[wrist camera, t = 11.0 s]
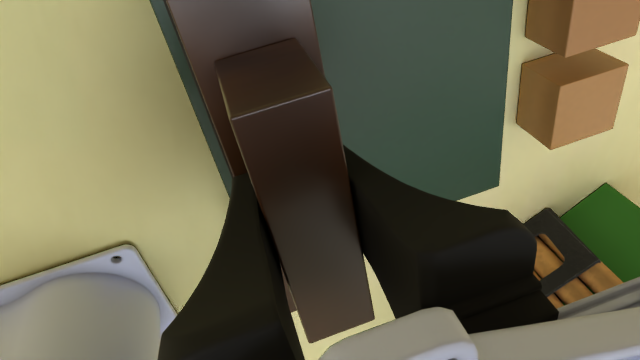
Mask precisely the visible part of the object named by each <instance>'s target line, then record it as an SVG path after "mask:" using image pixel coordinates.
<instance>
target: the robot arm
mask: <svg viewBox="0 0 640 360" xmlns="http://www.w3.org/2000/svg"><path fill="white" fill-rule="evenodd" d="M343 148H344V153H345V159H346V164H347V170H348V175H349V181H350V186H351V191H352V197H353V202H354V208H355V213H356V219H357V224H358V229H359V235H360V240H361V246H362V251H363V254H364V255H365V257H366V259H367V260H368V262H369V264H370V265H371V267H372V269H373V271H374V272H375V274H376V276H377V278H378V280H379V282H380V285H381V287H382V289H383V291H384V293H385V296H386V298H387V300H388V302H389V304H390V307H391V309H392V311H393V313H394V316H395V318H396V319H395V320H392V321H390V322H387V323H384V324H382V325H379V326H376V327H374V328H371V329H368V330H366V331H363V332H360V333H357V334H355V335H352V336H349V337H347V338H344V339H342V340H341V341H339V342H337V343H335V344H333V345H332V346H330V347H329V348H328V349H327V350H326V351H325V352H324V354H323V355H322V356H321V357H320V358H319V360H640V277H638V278H635V279H632V280H630V281H627V282H625V283H622V284H619V285H617V286H614V287H612V288H609V289H606V290H604V291H601V292H599V293H596V294H593V295H591V296H588V297H586V298H583V299H580V300H578V301H575V302H573V303H570V304H567V305H565V306H562V307H560V308H557V309H556V307H555V306H554V305H553V304H552V303H551V302H550V300H549V299H548V298H547V297H546V296H545V295H544V293H543V292H542V291H541V290H540V289H542V284H541V282H540V281H539V280H538V279H537V278H536V276H535V275H534V274H533V272H534V266H535V259H536V253H537V241H536V239H535V237H534V235H533V234H532V233H531V232H530V231H529V230H528V229H527V228H526V227H525V226H524V225H523V224H522V223H521V222H520V221H519V220H518V219H517V218H516V217H514V216H513V215H512V214H511V213H510V212H509V211H507V210H501V209H494V208H487V207H480V206H475V205H470V204H465V203H461V202H457V201H453V200H449V199H446V198H442V197H439V196H436V195H433V194H430V193H427V192H424V191H422V190H419V189H417V188H415V187H412V186H410V185H407V184H405V183H403V182H401V181H399V180H397V179H396V178H394V177H392V176H390V175H388V174H386V173H385V172H383V171H381V170H380V169H378V168H377V167H375V166H373V165H372V164H370V163H369V162H367V161H366V160H364V159H363V158H361V157H360V156H358V155H357V154H356V153H354V152H353V151H351V150H350V149H349V148H347V147H346V146H345V145H343ZM113 256H120V258H113ZM0 360H305V359H304V355H303V352H302V349H301V345H300V342H299V339H298V335H297V332H296V329H295V326H294V322H293V319H292V316H291V312H290V309H289V305H288V300H287V296H286V291H285V286H284V280H283V275H282V270H281V265H280V261H279V258H278V255H277V253H276V250H275V247H274V244H273V241H272V239H271V236H270V233H269V230H268V227H267V225H266V222H265V219H264V216H263V213H262V211H261V208H260V205H259V202H258V199H257V197H256V194H255V191H254V188H253V185H252V183H251V180H250V177H249V174H248V173H245V174H242V175H239V176H235V177H234V178H233V179H232V187H231V196H230V201H229V207H228V211H227V215H226V219H225V223H224V226H223V229H222V233H221V236H220V239H219V242H218V244H217V247H216V250H215V252H214V254H213V257H212V259H211V261H210V263H209V265H208V267H207V269H206V271H205V273H204V275H203V277H202V279H201V281H200V282H199V284H198V286H197V288H196V289H195V291H194V292H193V294H192V295H191V297H190V298H189V300H188V301H187V303H186V304H185V306H184V307H183V309H182V310H181V311H180V312H179V314H178V315H177V313H176V311H175V310H174V308H173V307H172V305H171V303H170V302H169V300H168V299H167V297H166V296H165V294H164V292H163V291H162V289H161V288H160V286H159V284H158V283H157V281H156V280H155V278H154V276H153V275H152V273H151V272H150V270H149V269H148V267H147V265H146V264H145V262H144V261H143V259H142V257H141V256H140V254H139V253H138V251H137V249H136V248H135V247H134V246H132V245H121V246H118V247H115V248H112V249H109V250H106V251H103V252H100V253H97V254H94V255H91V256H88V257H85V258H82V259H79V260H76V261H73V262H70V263H67V264H64V265H61V266H58V267H55V268H52V269H49V270H46V271H43V272H40V273H37V274H34V275H31V276H28V277H24V278H21V279H18V280H15V281H12V282H9V283H6V284H3V285H0Z"/></svg>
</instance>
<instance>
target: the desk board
mask: <svg viewBox="0 0 640 360" xmlns="http://www.w3.org/2000/svg"><path fill="white" fill-rule="evenodd" d="M150 3H151V5H152V8H153V10H154V13H155V15H156V17H157V20H158V22H159V25H160V27H161V30H162V32H163V35H164V37H165V40H166V42H167V45H168V47H169V50H170V52H171V55H172V57H173V59H174V62H175V64H176V67H177V69H178V72H179V74H180V77H181V79H182V82H183V84H184V87H185V89H186V92H187V94H188V96H189V99H190V101H191V104H192V106H193V109H194V111H195V114H196V116H197V119H198V121H199V124H200V126H201V129H202V131H203V134H204V136H205V138H206V141H207V143H208V146H209V148H210V151H211V153H212V156H213V158H214V161H215V163H216V166H217V168H218V171H219V173H220V175H221V178H222V180H223V183H224V185H225V188H226V190H227V193H228V195H229V198H230V196H231V187H232V177H231V175H230V172H229V169H228V167H227V164H226V162H225V159H224V156H223V154H222V151H221V149H220V146H219V144H218V141H217V138H216V136H215V133H214V131H213V128H212V126H211V123H210V120H209V118H208V115H207V113H206V110H205V108H204V105H203V102H202V100H201V97H200V95H199V92H198V89H197V87H196V84H195V82H194V79H193V77H192V74H191V71H190V69H189V66H188V64H187V61H186V59H185V56H184V53H183V51H182V48H181V46H180V43H179V41H178V38H177V35H176V33H175V30H174V28H173V25H172V22H171V20H170V17H169V15H168V12H167V10H166V7H165V4H164V2H163V0H150ZM311 5H312V11H313V16H314V21H315V26H316V32H317V37H318V42H319V47H320V52H321V58H322V63H323V68H324V73H325V78H326V80H327V81H328V83H329V84H330V85H331V87H332V88H333V94H334V99H335V105H336V110H337V115H338V121H339V126H340V132H341V137H342V143H343V145H345V146H346V147H347V148H349V149H350V150H351V151H353V152H354V153H356V154H357V155H358V156H360V157H361V158H363V159H364V160H366V161H367V162H369V163H370V164H372V165H373V166H375V167H377V168H378V169H380V170H381V171H383V172H385V173H386V174H388V175H390V176H392V177H394V178H396V179H397V180H399V181H401V182H403V183H405V184H407V185H410V186H412V187H415V188H417V189H419V190H422V191H424V192H427V193H430V194H433V195H436V196H439V197H442V198H446V199H449V200H453V201H457V200H460V199H463V198H466V197H468V196H471V195H474V194H477V193H480V192H483V191H486V190H489V189H491V188H494V187H497V186H499V178H500V164H501V151H502V138H503V125H504V112H505V98H506V85H507V72H508V59H509V46H510V32H511V19H512V6H513V0H311Z"/></svg>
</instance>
